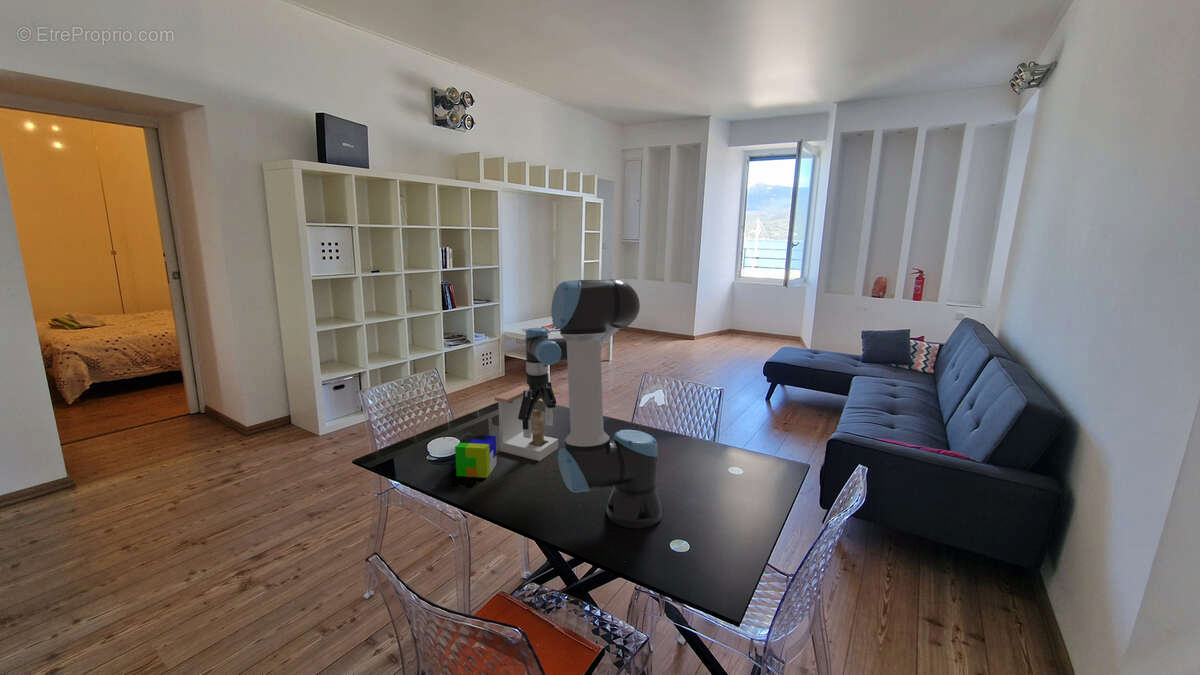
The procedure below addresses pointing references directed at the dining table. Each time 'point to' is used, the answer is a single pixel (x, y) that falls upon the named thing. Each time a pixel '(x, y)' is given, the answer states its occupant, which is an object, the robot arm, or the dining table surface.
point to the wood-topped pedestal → (510, 413)
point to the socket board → (529, 447)
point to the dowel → (538, 428)
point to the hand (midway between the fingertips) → (538, 431)
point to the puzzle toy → (476, 456)
